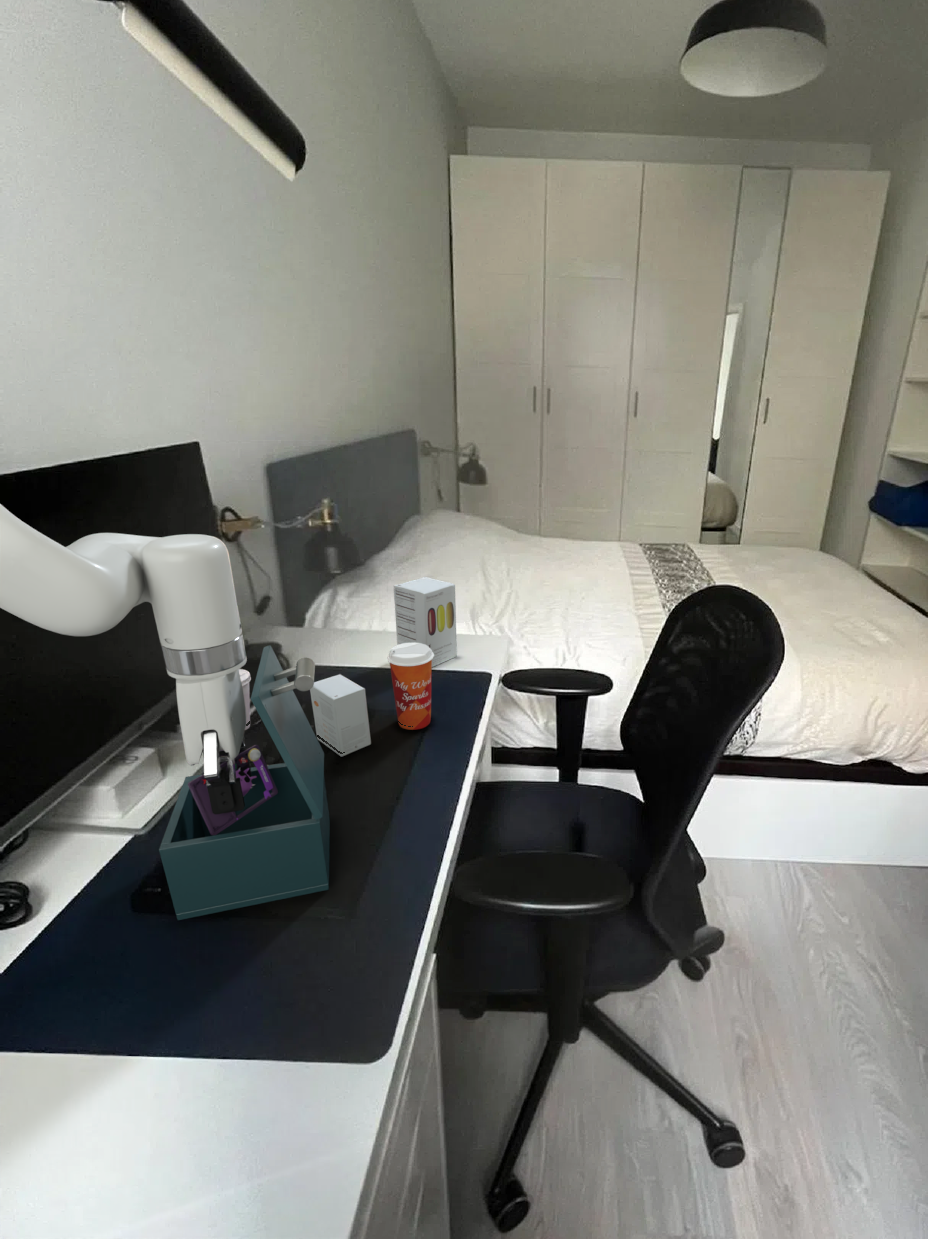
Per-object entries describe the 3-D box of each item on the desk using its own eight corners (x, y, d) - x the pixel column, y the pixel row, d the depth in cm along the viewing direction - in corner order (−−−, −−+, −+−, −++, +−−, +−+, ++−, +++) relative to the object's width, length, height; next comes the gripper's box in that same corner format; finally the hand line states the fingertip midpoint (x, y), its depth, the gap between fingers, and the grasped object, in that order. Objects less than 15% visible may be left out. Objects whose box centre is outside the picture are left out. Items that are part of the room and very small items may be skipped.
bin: (177, 921, 70) (158, 849, 66) (200, 840, 82) (185, 776, 78) (329, 890, 75) (319, 822, 71) (329, 818, 87) (321, 757, 83)
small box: (371, 745, 104) (366, 688, 100) (340, 758, 101) (333, 699, 97) (346, 727, 109) (340, 672, 105) (316, 739, 105) (308, 683, 101)
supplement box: (427, 670, 132) (423, 594, 126) (396, 659, 137) (391, 585, 130) (458, 656, 140) (456, 583, 133) (428, 646, 144) (424, 575, 138)
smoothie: (261, 730, 107) (249, 655, 102) (219, 740, 104) (204, 663, 99) (255, 714, 112) (242, 642, 107) (214, 723, 109) (199, 649, 104)
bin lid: (250, 698, 63) (303, 680, 64) (263, 647, 75) (308, 632, 76) (315, 820, 71) (362, 802, 72) (318, 755, 83) (358, 741, 84)
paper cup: (396, 736, 107) (390, 661, 102) (389, 715, 114) (383, 644, 109) (441, 728, 110) (438, 655, 105) (432, 708, 117) (428, 638, 112)
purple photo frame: (193, 783, 68) (261, 744, 76) (165, 784, 70) (234, 746, 78) (217, 836, 70) (282, 792, 77) (189, 835, 72) (255, 793, 80)
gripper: (182, 627, 73) (209, 759, 80) (143, 692, 58) (181, 848, 65) (253, 622, 76) (274, 751, 82) (233, 683, 61) (261, 835, 67)
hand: (233, 792), depth 74 cm, fingers closed on purple photo frame, 5 cm apart
